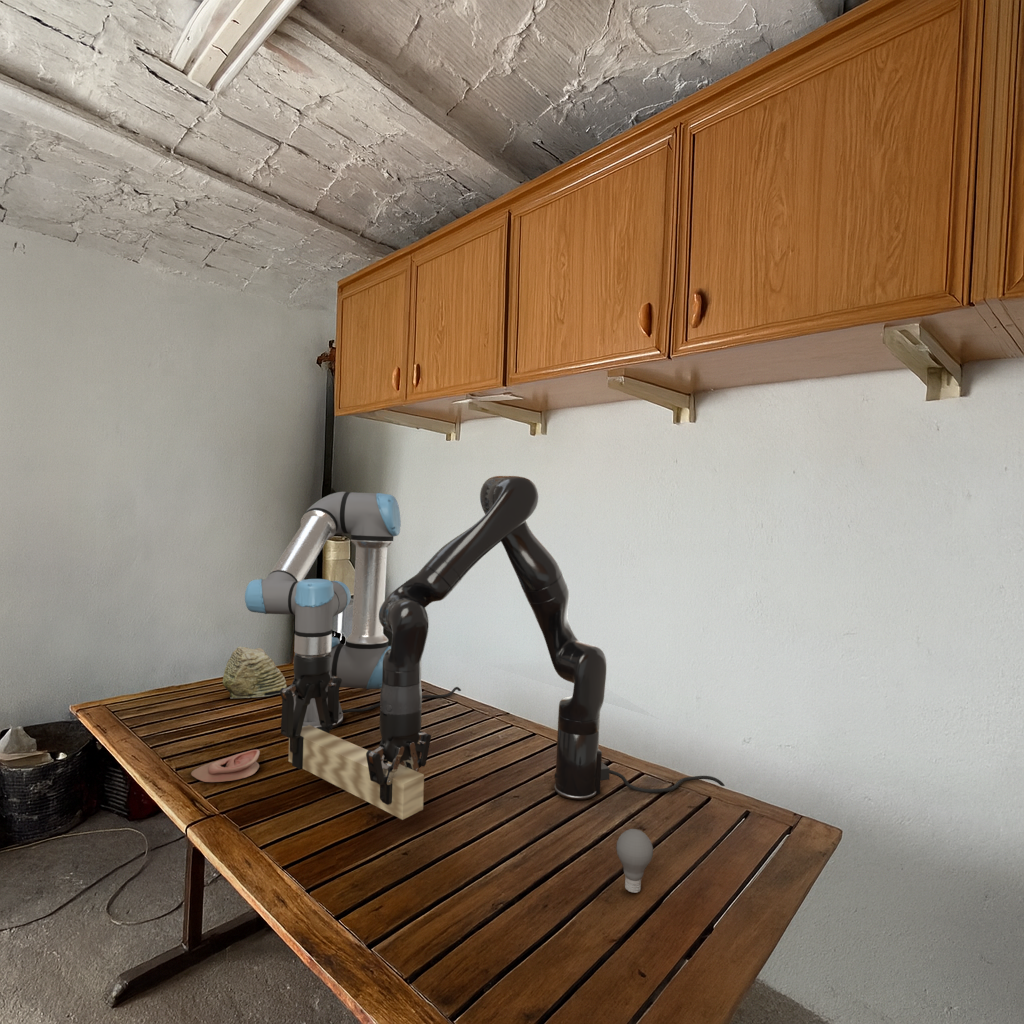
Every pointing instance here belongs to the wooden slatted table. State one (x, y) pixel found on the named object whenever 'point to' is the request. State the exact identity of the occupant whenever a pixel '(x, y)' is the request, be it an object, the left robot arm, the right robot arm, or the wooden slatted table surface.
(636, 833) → the light bulb
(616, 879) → the wooden slatted table surface
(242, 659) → the fossil
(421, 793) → the birch plank
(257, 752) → the anatomical model
